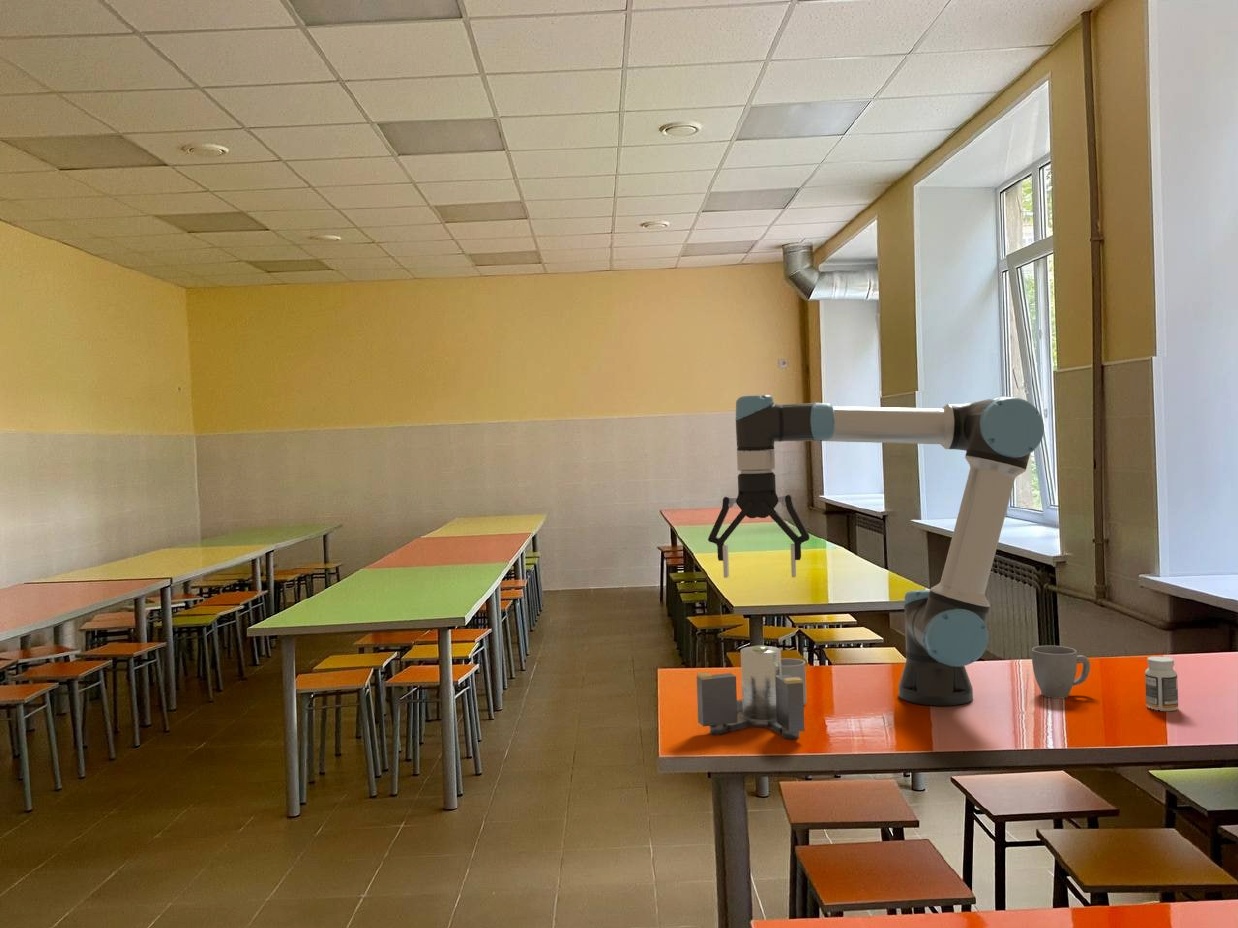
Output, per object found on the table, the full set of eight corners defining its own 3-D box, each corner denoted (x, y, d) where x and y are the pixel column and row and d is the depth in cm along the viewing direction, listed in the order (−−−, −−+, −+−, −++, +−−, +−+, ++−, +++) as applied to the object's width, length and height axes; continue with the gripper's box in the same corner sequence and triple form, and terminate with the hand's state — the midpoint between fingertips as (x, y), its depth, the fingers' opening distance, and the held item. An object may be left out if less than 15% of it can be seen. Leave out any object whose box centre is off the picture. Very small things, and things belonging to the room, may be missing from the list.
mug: (1045, 701, 205) (1043, 655, 205) (1025, 690, 214) (1024, 646, 214) (1101, 698, 206) (1100, 652, 205) (1079, 688, 214) (1078, 643, 214)
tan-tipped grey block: (732, 728, 194) (730, 669, 194) (738, 733, 191) (736, 673, 191) (698, 732, 192) (696, 673, 192) (703, 737, 189) (701, 676, 189)
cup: (808, 708, 207) (807, 665, 206) (760, 709, 207) (758, 666, 207) (804, 699, 214) (803, 658, 214) (757, 700, 214) (756, 659, 214)
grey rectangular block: (776, 732, 190) (774, 672, 190) (792, 731, 191) (790, 671, 191) (788, 743, 183) (786, 681, 183) (805, 741, 184) (803, 679, 184)
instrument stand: (800, 713, 203) (798, 641, 203) (790, 735, 188) (787, 658, 188) (736, 710, 207) (734, 639, 207) (720, 731, 192) (718, 655, 192)
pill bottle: (1177, 705, 198) (1175, 656, 198) (1179, 713, 193) (1178, 662, 193) (1144, 703, 201) (1143, 655, 201) (1146, 710, 196) (1145, 661, 195)
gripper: (819, 469, 200) (823, 573, 201) (697, 473, 206) (701, 574, 207) (818, 470, 193) (822, 579, 194) (692, 474, 199) (696, 579, 199)
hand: (759, 576), depth 200 cm, fingers open, 13 cm apart
